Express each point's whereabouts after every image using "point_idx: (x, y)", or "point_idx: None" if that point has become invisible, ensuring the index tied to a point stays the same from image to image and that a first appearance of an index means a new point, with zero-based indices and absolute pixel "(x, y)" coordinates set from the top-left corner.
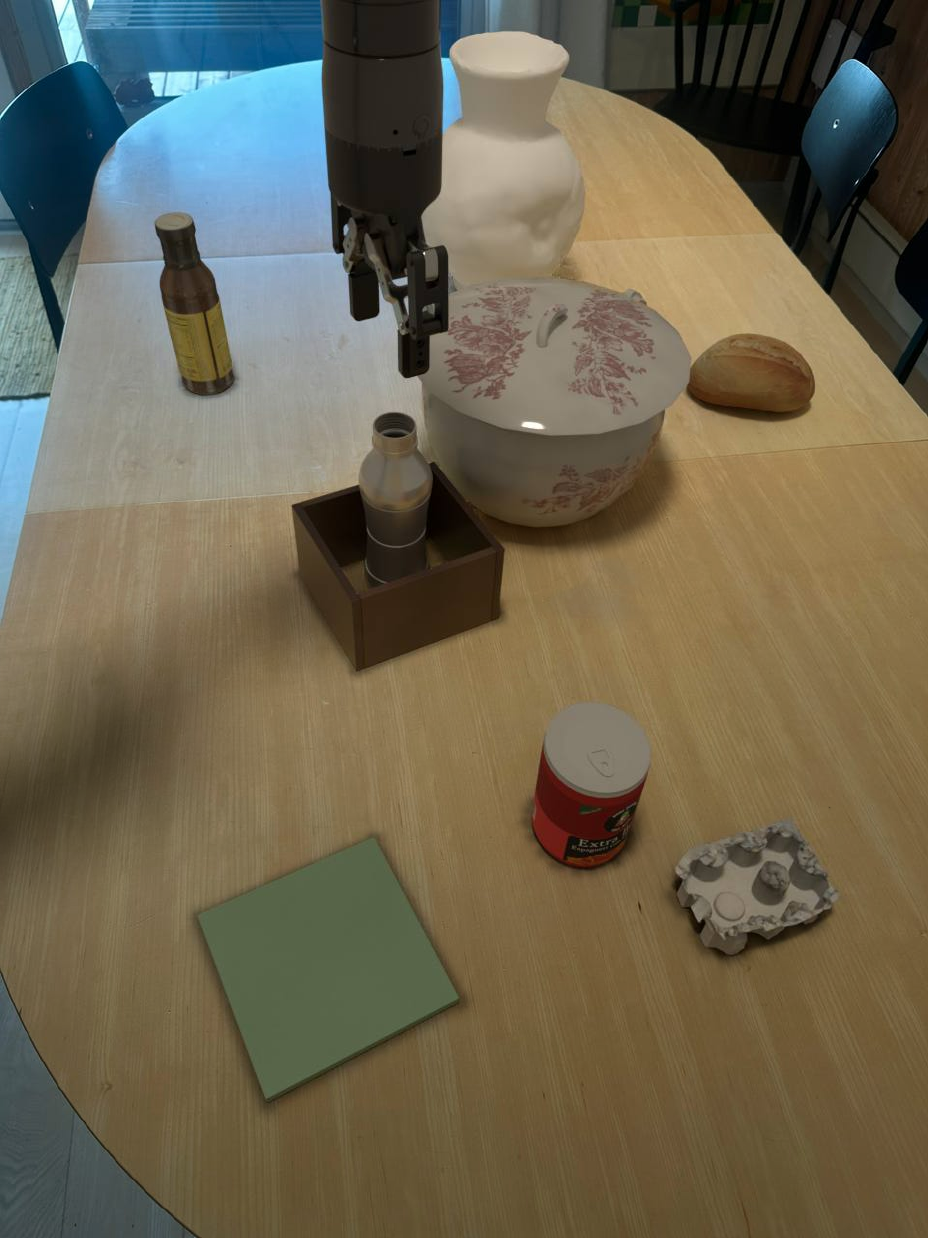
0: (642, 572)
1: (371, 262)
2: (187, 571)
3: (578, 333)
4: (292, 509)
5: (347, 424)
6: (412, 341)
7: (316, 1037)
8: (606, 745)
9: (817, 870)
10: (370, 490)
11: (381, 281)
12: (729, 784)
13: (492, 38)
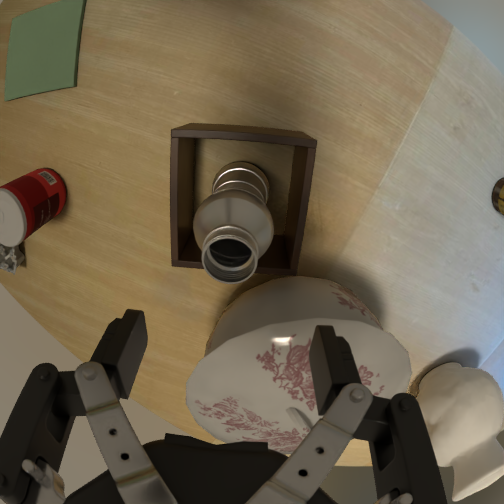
0: (183, 324)
1: (221, 454)
2: (352, 65)
3: (286, 428)
4: (313, 139)
5: (419, 249)
6: (89, 361)
7: (17, 39)
8: (4, 223)
9: (1, 266)
10: (220, 195)
11: (118, 434)
12: (50, 267)
13: (499, 474)
